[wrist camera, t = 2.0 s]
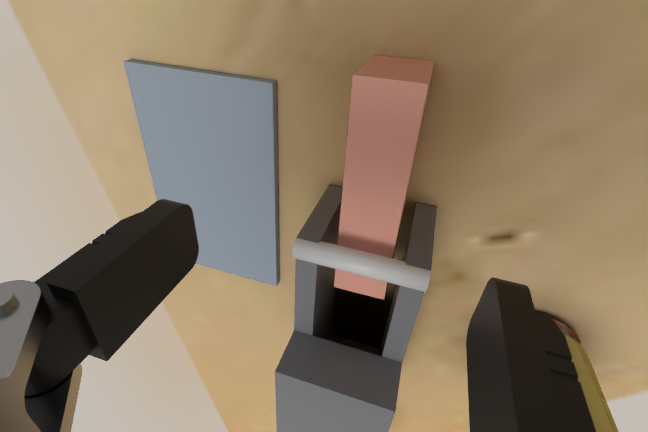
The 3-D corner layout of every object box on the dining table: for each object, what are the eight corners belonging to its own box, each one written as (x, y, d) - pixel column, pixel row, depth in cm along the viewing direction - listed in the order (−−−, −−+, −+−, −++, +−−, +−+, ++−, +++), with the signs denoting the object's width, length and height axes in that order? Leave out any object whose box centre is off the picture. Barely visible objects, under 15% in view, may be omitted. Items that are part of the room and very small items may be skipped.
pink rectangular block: (375, 54, 18) (352, 74, 14) (435, 60, 18) (428, 84, 14) (353, 238, 25) (333, 286, 21) (395, 247, 24) (383, 299, 20)
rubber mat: (130, 59, 22) (123, 61, 22) (276, 80, 20) (272, 83, 20) (175, 252, 32) (170, 256, 31) (279, 281, 29) (276, 286, 29)
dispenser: (329, 184, 23) (272, 276, 16) (436, 206, 22) (426, 318, 14) (317, 338, 32) (277, 441, 25) (392, 361, 31) (372, 477, 23)
